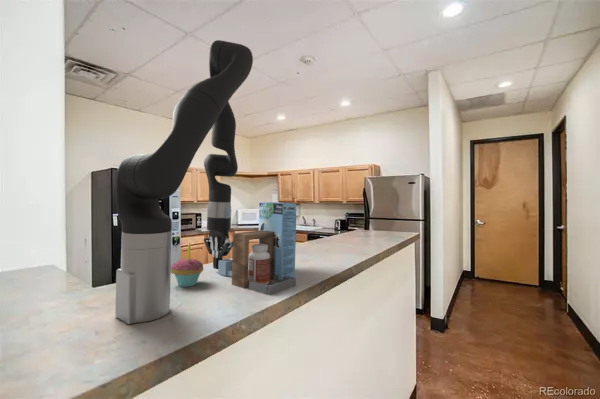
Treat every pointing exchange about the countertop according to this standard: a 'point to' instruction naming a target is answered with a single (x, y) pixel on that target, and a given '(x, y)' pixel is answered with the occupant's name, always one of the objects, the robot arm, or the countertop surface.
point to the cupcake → (187, 270)
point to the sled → (225, 267)
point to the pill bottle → (259, 264)
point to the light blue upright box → (280, 234)
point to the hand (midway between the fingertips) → (217, 268)
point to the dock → (273, 288)
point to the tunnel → (242, 254)
